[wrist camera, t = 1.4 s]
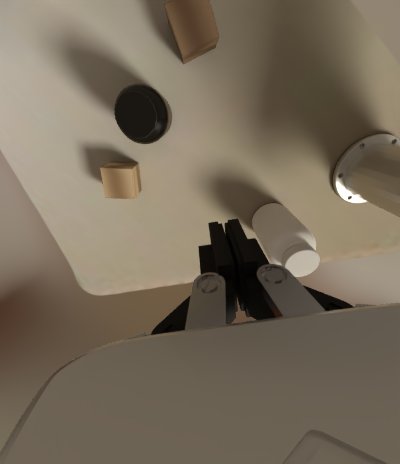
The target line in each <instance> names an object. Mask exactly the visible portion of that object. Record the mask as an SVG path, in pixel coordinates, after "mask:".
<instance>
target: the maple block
mask: <svg viewBox="0 0 400 464" xmlns="http://www.w3.org/2000/svg"><path fill="white" fill-rule="evenodd" d="M100 171H101V176H102V182H103V187H104V192H105V198H121V199H136V197H137V196H138V194H139V193H140V191H141V180H140V170H139V163H124V162H110V163H108V164H106V165H104V166H103V167H101V168H100Z"/></svg>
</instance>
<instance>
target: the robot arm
mask: <svg viewBox="0 0 400 464" xmlns="http://www.w3.org/2000/svg"><path fill="white" fill-rule="evenodd" d="M333 187H334V190H335V192H336V193H337V195H338V196H339V197H341V198H342V199H344V200H346V201H348V202H351V203H363V202H369V203H372V204H374V205H376V206H378V207H380V208H382V209H384V210H386V211H388V212H390V213H392V214H394V215H396V216H398V217H400V139H399V138H398V137H396V136H394V135H389V134H374V135H370V136H367V137H365V138H363V139H361V140H359V141H358V142H356V143H355V144H353V145H352V146H351V147H350V148H349V149H348V150H347V151H346V152H345V153H344V154H343V155H342V157H341V158H340V160H339V162H338V163H337V165H336V168H335V170H334V175H333ZM209 231H210V239H211V245H204V246H199V257H200V270H201V275H199V276H198V277H197V278H196V279H195V280H194V282H193V286H192V291H191V295H190V296H189V297H188V298H187V299H186V300H185V301H184V302H182V303H181V304H180V305H179V306H178V307H177V308H176V309H175V310H174V311H173V312H172V313H170V314H169V315H168V316H167V317H166V318H165V319H164V320H163V321H162V322H161V323H159V324H158V325H157V326H156V327H155V329H154V330H153V331H152V333H150V334H147V335H146V333H142V334H139V335H136V336H133V337H130V338H127V339H124V340H122V341H118V342H114V343H110V344H107V345H104V346H101V347H99V348H96V349H93V350H91V351H89V352H87V353H85V354H82V355H80V356H78V357H76V358H75V359H73V360H71V361H69V362H68V363H66V364H65V365H64V366H62V367H60V368H59V369H58V370H57V371H56V372H55V373H53V374H52V375H51V376H50V377H49V378H48V380H47V381H46V382H45V383H44V384H43V385H42V387H41V388H40V389H39V391H38V392H37V393H36V395H35V396H34V398H33V399H32V401H31V402H30V404H29V405H28V407H27V408H26V410H25V412H24V413H23V415H22V416H21V418H20V419H19V421H18V423H17V424H16V426H15V428H14V429H13V431H12V433H11V434H10V436H9V438H8V440H7V441H6V443H5V445H4V447H3V448H2V450H1V452H0V464H400V303H391V304H381V305H365V304H356V305H355V307H353V306H352V305H350V304H348V303H346V302H344V301H342V300H340V299H337V298H334V297H332V296H329V295H327V294H324V293H322V292H319V291H316V290H314V289H311V288H309V287H306V286H303V285H302V284H301V283H300V282H299V281H298V280H297V279H296V278H295V277H294V276H293V274H292V273H291V272H290V271H289V270H288V269H286V268H285V267H283V266H281V265H277V264H269V262H268V260H267V258H266V256H265V255H264V253H263V251H262V249H261V247H260V246H259V244H258V242H257V240H256V239H255V238H253V239H247V237H246V235H245V233H244V231H243V229H242V227H241V225H240V223H239V221H238V219H232V220H228V223H225V232H224V229H223V226H222V224H218V222H211V223H209ZM225 234H226V235H225ZM237 298H238V302H239V305H240V309H241V311H244V310H245V313H246V316H247V317H253V318H255V319H256V320H255V321H248V322H241V323H233V324H231V323H232V322H233V321H234V319H235V318H236V313H235V312H237V311H238V307H237Z"/></svg>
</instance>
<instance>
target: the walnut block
mask: <svg viewBox="0 0 400 464" xmlns="http://www.w3.org/2000/svg"><path fill="white" fill-rule="evenodd" d="M164 5H165V9H166V13H167V17H168V21H169V24H170V27H171V30H172V33H173V36H174V38H175V41H176V44H177V47H178V50H179V52H180V55H181V58H182V61H183V64H185V63H187V62H189V61H191V60H192V59H194V58H196V57H198V56H200V55H202V54H204V53H206V52H208V51H210V50H212V49H214V48H215V47H216V44H217V41H218V38H219V34H218V30H217V27H216V23H215V19H214V16H213V12H212V8H211V5H210V1H209V0H171V1H169V2H167V3H166V4H164Z"/></svg>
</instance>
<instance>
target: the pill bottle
mask: <svg viewBox="0 0 400 464" xmlns="http://www.w3.org/2000/svg"><path fill="white" fill-rule="evenodd" d="M252 227H253V230H254V232H255V234H256V236H257V237H258V239H259V241H260V243H261V245H262V247H263V248H264V250H265V252H266V254H267V256H268V258H269V259H270V261H271V262H272V263H273V264H277V265H281V266H283V267H285V268H286V269H288V270H289V271H290V272H291V273H292V274H293V276H294V277H302V276H305V275H308V274H310V273H311V272H313V271H314V270H315V269H316V268H317V266H318V264H319V261H320V258H319V255H318V253H317V252H316V251H315V250H316V240H315V238H314V236H313V234H312V233H311V232H310V231H309V230H308V229H307V228H306V227H305V226H304V225H303V224H302V223H301V222H300V221H299V220H298V219H297V218H296V217H295V216H294V215H293V214H292V213H291V212H290V211H289V210H288V209H287V208H286V207H284V206H283V205H281V204H277V203H270V204H266V205H264V206H262V207H260V208H259V209H258V210H257V211H256V212H255V214H254V216H253V219H252Z"/></svg>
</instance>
